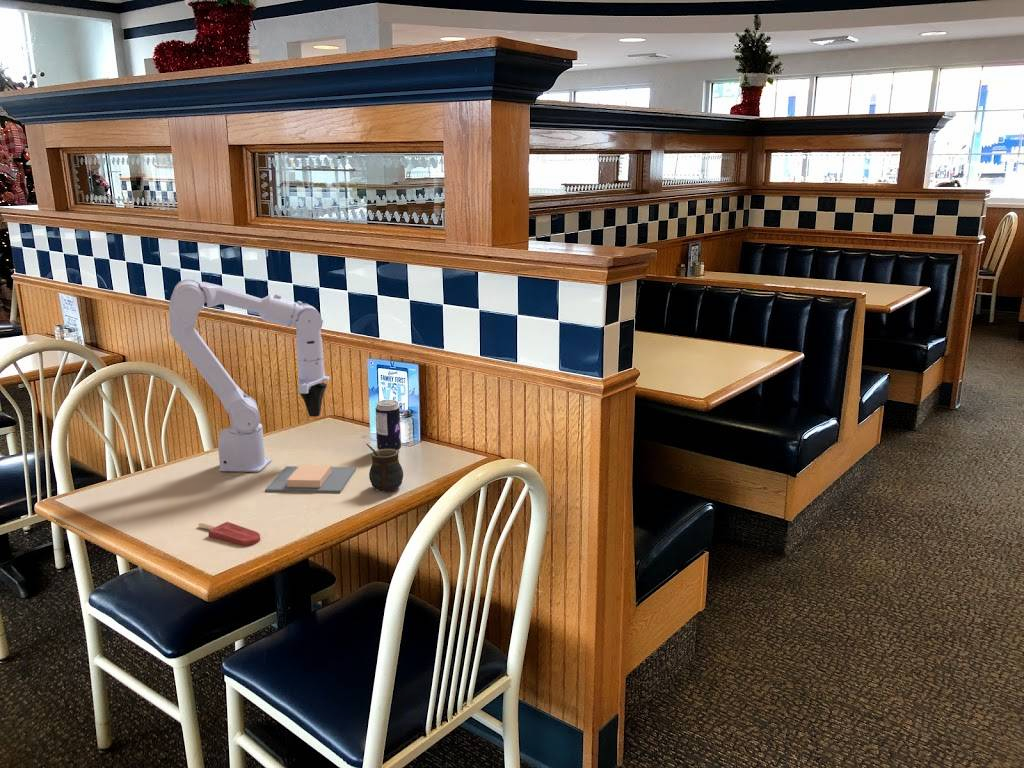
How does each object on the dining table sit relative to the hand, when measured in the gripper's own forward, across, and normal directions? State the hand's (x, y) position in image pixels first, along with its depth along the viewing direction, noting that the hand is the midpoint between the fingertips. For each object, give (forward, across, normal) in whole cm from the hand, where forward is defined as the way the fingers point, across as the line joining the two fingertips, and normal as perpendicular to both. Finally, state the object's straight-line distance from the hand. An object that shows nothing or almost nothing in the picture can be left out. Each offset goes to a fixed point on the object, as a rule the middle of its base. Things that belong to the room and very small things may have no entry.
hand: (314, 415), depth 189 cm
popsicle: (+11, -42, +5) cm, 44 cm away
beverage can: (+11, +6, -16) cm, 20 cm away
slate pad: (+10, -14, -3) cm, 18 cm away
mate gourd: (+11, -18, -20) cm, 29 cm away
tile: (+9, -11, -3) cm, 15 cm away
